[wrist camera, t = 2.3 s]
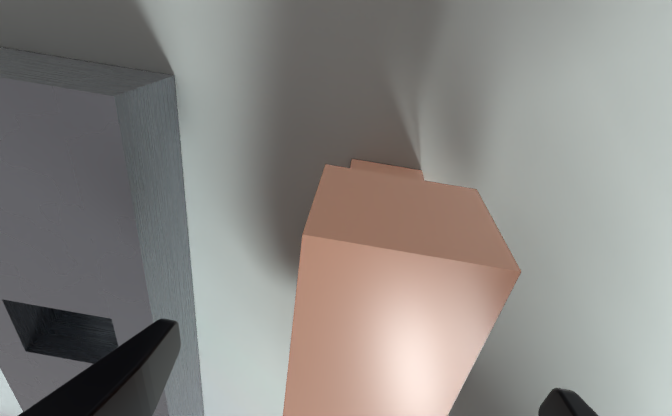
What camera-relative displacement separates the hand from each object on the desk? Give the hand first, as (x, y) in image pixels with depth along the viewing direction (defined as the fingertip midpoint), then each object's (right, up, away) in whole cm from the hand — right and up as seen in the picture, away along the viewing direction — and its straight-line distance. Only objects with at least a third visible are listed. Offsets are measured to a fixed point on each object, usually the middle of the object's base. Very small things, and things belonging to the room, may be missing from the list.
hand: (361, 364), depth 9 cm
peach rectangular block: (0, +2, +3) cm, 4 cm away
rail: (-9, -2, +6) cm, 11 cm away
